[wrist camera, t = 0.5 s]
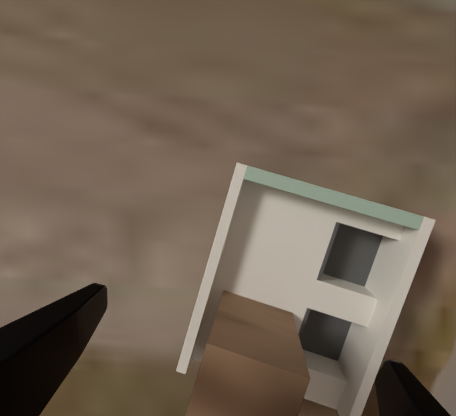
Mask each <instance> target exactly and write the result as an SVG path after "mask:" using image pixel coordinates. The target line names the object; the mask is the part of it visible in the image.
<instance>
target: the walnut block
mask: <svg viewBox="0 0 456 416" xmlns="http://www.w3.org/2000/svg"><path fill="white" fill-rule="evenodd" d="M309 382H310V375H309V372H308V368H307V364H306V361H305V357H304V353H303V350H302V346H301V342H300V339H299V335H298V331H297V328H296V324H295V320H294V317H293V313H292V312H289V311H286V310H283V309H280V308H277V307H274V306H271V305H268V304H264V303H261V302H258V301H255V300H252V299H249V298H246V297H243V296H240V295H237V294H234V293H231V292H228V291H225V290H224V291H223V294H222V298H221V301H220V304H219V307H218V310H217V313H216V316H215V320H214V323H213V326H212V329H211V332H210V335H209V338H208V341H207V345H206V348H205V351H204V355H203V358H202V361H201V365H200V368H199V371H198V375H197V378H196V381H195V384H194V388H193V391H192V394H191V398H190V401H189V404H188V408H187V411H186V414H185V416H298V413H299V410H300V407H301V404H302V402H303V399H304V396H305V393H306V390H307V387H308V385H309Z"/></svg>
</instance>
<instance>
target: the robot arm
mask: <svg viewBox="0 0 456 416" xmlns="http://www.w3.org/2000/svg"><path fill="white" fill-rule="evenodd" d="M106 309H107V287H106V286H105V285H101V284H97V283H93V284H90V285H88V286H86V287H84V288H82V289H80V290H78V291H76V292H74V293H72V294H70V295H67V296H65V297H63V298H61V299H59V300H57V301H55V302H53V303H51V304H49V305H47V306H45V307H42V308H40V309H38V310H36V311H34V312H32V313H30V314H28V315H26V316H24V317H22V318H20V319H17V320H15V321H13V322H11V323H9V324H7V325H5V326H3V327H1V328H0V416H39V415H40V414H41V412H42V411H43V409H44V408H45V406H46V405H47V404H48V402H49V401H50V399H51V398H52V396H53V395H54V393H55V392H56V391H57V389H58V388H59V386H60V385H61V383H62V382H63V380H64V379H65V378H66V376H67V375H68V373H69V372H70V370H71V369H72V367H73V366H74V365H75V363H76V362H77V360H78V359H79V357H80V356H81V354H82V352H83V351H84V349H85V347H86V345H87V343H88V342H89V340H90V338H91V336H92V335H93V333H94V331H95V329H96V327H97V326H98V324H99V322H100V320H101V318H102V317H103V315H104V313H105V311H106ZM375 386H376V393H377V400H378V407H379V415H380V416H450V414H448V412H447V411H446V410H445V409H444V408H443V407H442V406H441V405H440V404H439V402H438V401H437V400H436V399H435V398H434V397H433V396H432V395H431V393H430V392H429V391H428V390H427V389H426V388H425V387H424V386H423V385H422V384H421V382H420V381H419V380H418V379H417V378H416V377H415V376H414V375H413V374H412V373H411V371H410V370H409V369H408V368H407V367H406V366H405V365H404V364H403V363H401V362H398V361H394V360H390V359H388V360H386V361H385V362H384V364H383V365H382V367H381V369H380V370H379V372H378V374H377V375H376V379H375Z"/></svg>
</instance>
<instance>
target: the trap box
mask: <svg viewBox="0 0 456 416" xmlns="http://www.w3.org/2000/svg"><path fill="white" fill-rule="evenodd" d="M434 223H435V220H434V219H430V218H427V217H423V216H420V215H416V214H413V213H410V212H406V211H403V210H399V209H396V208H392V207H389V206H385V205H382V204H378V203H375V202H371V201H368V200H365V199H361V198H358V197H354V196H351V195H347V194H344V193H340V192H337V191H333V190H330V189H326V188H323V187H320V186H316V185H313V184H309V183H306V182H302V181H299V180H295V179H292V178H288V177H285V176H282V175H278V174H275V173H271V172H268V171H264V170H261V169H257V168H254V167H250V166H247V165H243V164H240V163H237V164H236V167H235V171H234V174H233V178H232V181H231V184H230V188H229V191H228V195H227V198H226V202H225V205H224V208H223V212H222V215H221V219H220V222H219V226H218V229H217V232H216V236H215V239H214V243H213V246H212V250H211V253H210V256H209V260H208V263H207V267H206V270H205V274H204V277H203V280H202V284H201V287H200V291H199V294H198V298H197V301H196V304H195V308H194V311H193V315H192V318H191V322H190V325H189V328H188V332H187V335H186V339H185V342H184V346H183V349H182V352H181V356H180V359H179V363H178V366H177V370H176V371H178V372H180V373H183V374H186V371H187V369H188V366H189V363H190V361H191V359H193V360H196V361H198V362H201V361H202V358H203V355H204V351H205V348H206V345H207V341H208V338H209V335H210V332H211V329H212V326H213V323H214V320H215V316H216V313H217V310H218V307H219V304H220V301H221V298H222V294H223V291H224V290H225V291H228V292H231V293H234V294H237V295H240V296H243V297H246V298H249V299H252V300H255V301H258V302H261V303H264V304H268V305H271V306H274V307H277V308H280V309H283V310H286V311H289V312H292V313H293V317H294V320H295V324H296V328H297V331H298V335H299V339H300V342H301V346H302V350H303V353H304V357H305V361H306V364H307V368H308V372H309V375H310V382H309V385H308V387H307V390H306V393H305V396H304V399H307V400H310V401H313V402H316V403H318V404H321V405H324V406H327V407H330V408H333V409H336V410H337V413H338V415H339V416H361V415H362V412H363V409H364V407H365V404H366V401H367V399H368V396H369V394H370V391H371V388H372V386H373V383H374V381H375V378H376V375H377V373H378V370H379V367H380V365H381V362H382V360H383V357H384V354H385V352H386V349H387V346H388V344H389V341H390V339H391V336H392V333H393V331H394V328H395V325H396V323H397V320H398V318H399V315H400V312H401V310H402V307H403V304H404V302H405V299H406V297H407V294H408V291H409V289H410V286H411V283H412V281H413V278H414V276H415V273H416V270H417V268H418V265H419V262H420V260H421V257H422V255H423V252H424V249H425V247H426V244H427V241H428V239H429V236H430V234H431V231H432V228H433V226H434Z"/></svg>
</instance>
